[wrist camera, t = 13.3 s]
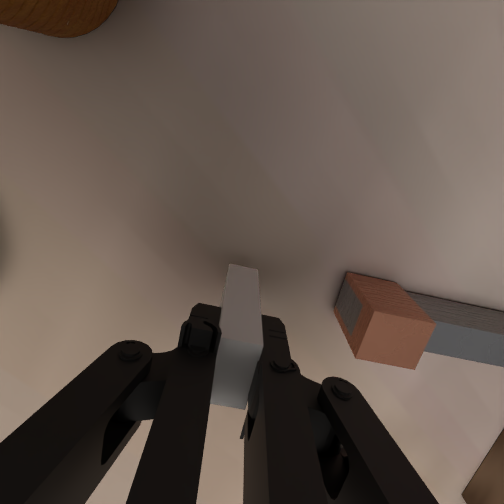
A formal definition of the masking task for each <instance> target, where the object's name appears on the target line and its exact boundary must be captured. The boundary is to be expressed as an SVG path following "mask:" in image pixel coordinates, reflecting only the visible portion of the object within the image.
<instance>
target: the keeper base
mask: <svg viewBox="0 0 504 504" xmlns="http://www.w3.org/2000/svg"><path fill="white" fill-rule="evenodd" d="M462 496H463V498H464V500H465V502H466V503H467V504H504V430H503V431H502V433H501V434H500V436H499V437H498V439H497V441H496V442H495V444H494V445H493V447H492V448H491V450H490V452H489V453H488V455H487V456H486V458H485V459H484V461H483V462H482V464H481V466H480V467H479V469H478V470H477V472H476V473H475V475H474V477H473V478H472V480H471V481H470V483H469V484H468V486H467V488H466V489H465V491H464V492H463V494H462Z"/></svg>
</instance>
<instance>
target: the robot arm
mask: <svg viewBox="0 0 504 504" xmlns="http://www.w3.org/2000/svg"><path fill="white" fill-rule="evenodd" d="M247 401H248V411H247V415H246V418H245V422H244V425H243V429H242V432H241V436H240V439H243V437H244V489H243V504H439V503H438V502H437V500H436V499H435V498H434V496H433V495H432V493H431V492H430V490H429V489H428V488H427V486H426V485H425V483H424V482H423V481H422V479H421V478H420V476H419V475H418V473H417V472H416V471H415V469H414V468H413V466H412V465H411V464H410V462H409V461H408V459H407V458H406V456H405V455H404V454H403V452H402V451H401V449H400V448H399V447H398V445H397V444H396V442H395V441H394V440H393V438H392V437H391V435H390V434H389V432H388V431H387V430H386V428H385V427H384V425H383V424H382V423H381V421H380V420H379V418H378V417H377V415H376V414H375V413H374V411H373V410H372V408H371V407H370V406H369V404H368V403H367V401H366V400H365V398H364V397H363V396H362V394H361V393H360V391H359V390H358V389H357V388H356V387H355V386H354V385H353V384H351V383H350V382H348V381H346V380H344V379H342V378H338V377H327V378H326V379H324V380H323V382H322V385H321V384H319V383H317V382H314V381H312V380H310V379H308V378H306V377H304V376H302V375H301V374H300V369H299V367H298V365H297V364H296V363H295V362H294V361H293V360H292V359H291V356H290V351H289V346H288V340H287V335H286V330H285V325H284V324H283V323H282V321H281V320H280V319H279V318H276V317H271V316H266V315H261V304H260V290H259V275H258V269H254V268H249V267H245V266H240V265H235V264H230V263H229V268H228V272H227V276H226V281H225V285H224V290H223V294H222V299H221V303H220V307H217V306H212V305H207V304H202V303H198V304H197V305H195V306H194V307H193V308H192V310H191V313H190V316H189V319H188V320H187V321H185V322H184V323H183V324H182V326H181V331H180V337H179V342H178V347H177V348H175V349H174V350H172V351H168V352H163V353H152V349H151V348H150V347H149V346H148V345H147V344H145V343H143V342H140V341H135V340H125V341H121V342H117V343H116V344H114V345H112V346H111V347H110V348H109V349H107V350H106V351H105V352H104V353H103V354H102V355H101V356H99V357H98V358H97V359H96V360H95V361H94V362H93V363H91V364H90V365H89V366H88V367H87V368H86V369H85V370H83V371H82V372H81V373H80V374H79V375H78V376H77V377H75V378H74V379H73V380H72V381H71V382H70V383H69V384H67V385H66V386H65V387H64V388H63V389H62V390H61V391H59V392H58V393H57V394H56V395H55V396H54V397H52V398H51V399H50V400H49V401H48V402H47V403H46V404H44V405H43V406H42V407H41V408H40V409H39V410H38V411H36V412H35V413H34V414H33V415H32V416H31V417H30V418H28V419H27V420H26V421H25V422H24V423H23V424H22V425H20V426H19V427H18V428H17V429H16V430H15V431H14V432H12V433H11V434H10V435H9V436H8V437H7V438H5V439H4V440H3V441H2V442H1V443H0V504H85V503H86V501H87V500H88V498H89V497H90V495H91V494H92V493H93V491H94V490H95V488H96V487H97V486H98V484H99V483H100V481H101V480H102V478H103V477H104V476H105V474H106V473H107V471H108V470H109V469H110V467H111V466H112V464H113V463H114V461H115V460H116V459H117V457H118V456H119V454H120V453H121V451H122V450H123V449H124V447H125V446H126V444H127V443H128V442H129V440H130V439H131V437H132V436H133V434H134V433H135V432H136V430H137V429H138V427H139V426H140V424H141V421H142V420H150V419H154V420H153V423H152V426H151V429H150V432H149V435H148V438H147V441H146V444H145V447H144V450H143V453H142V456H141V459H140V462H139V465H138V468H137V471H136V474H135V477H134V480H133V483H132V486H131V489H130V492H129V495H128V498H127V501H126V504H196V500H197V493H198V486H199V479H200V472H201V464H202V457H203V450H204V443H205V436H206V429H207V422H208V414H209V407H210V404H216V405H221V406H227V407H233V408H238V409H244V410H245V408H246V405H247Z"/></svg>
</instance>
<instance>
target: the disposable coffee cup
mask: <svg viewBox="0 0 504 504" xmlns="http://www.w3.org/2000/svg"><path fill="white" fill-rule="evenodd" d="M117 1H118V0H0V24H4V25H7V26H12V27H17V28H20V29H25V30H29V31H34V32H37V33H42V34H45V35H48V36H53V37H59V38H66V37H76V36H80V35H83V34H87V33H88V32H90V31H92V30H94V29H95V28H97V27H99V26H100V25H101V24H102V23H103V22H104V21H105V20H106V19H107V18H108V17H109V15H110V14H111V12H112V11H113V9H114V8H115V6H116V4H117Z"/></svg>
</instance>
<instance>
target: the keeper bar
mask: <svg viewBox="0 0 504 504" xmlns="http://www.w3.org/2000/svg"><path fill="white" fill-rule="evenodd" d="M334 314H335V316H336V318H337V320H338V322H339V324H340V326H341V329H342V331H343V333H344V335H345V337H346V339H347V341H348V344H349V346H350V348H351V350H352V352H353V354H354V356H355V358H356V359H361V360H367V361H372V362H377V363H382V364H387V365H392V366H398V367H403V368H408V369H413V370H415V368H416V366H417V364H418V362H419V359H420V357H421V355H422V353H423V351H426V352H431V353H436V354H441V355H446V356H451V357H456V358H461V359H466V360H471V361H476V362H481V363H486V364H491V365H496V366H501V367H504V312H499V311H495V310H490V309H485V308H481V307H476V306H471V305H467V304H462V303H457V302H453V301H448V300H443V299H439V298H434V297H429V296H425V295H420V294H415V293H411V292H406V291H404V290H403V289H402V288H401V287H400V286H399V285H398V284H397V283H395V282H390V281H386V280H381V279H376V278H372V277H367V276H363V275H358V274H353V273H349V272H347V275H346V278H345V280H344V283H343V286H342V289H341V292H340V294H339V297H338V300H337V303H336V306H335V308H334Z"/></svg>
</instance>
